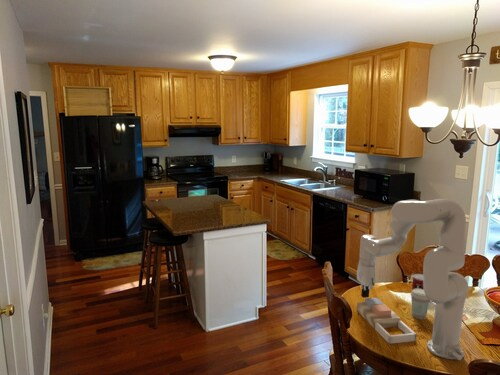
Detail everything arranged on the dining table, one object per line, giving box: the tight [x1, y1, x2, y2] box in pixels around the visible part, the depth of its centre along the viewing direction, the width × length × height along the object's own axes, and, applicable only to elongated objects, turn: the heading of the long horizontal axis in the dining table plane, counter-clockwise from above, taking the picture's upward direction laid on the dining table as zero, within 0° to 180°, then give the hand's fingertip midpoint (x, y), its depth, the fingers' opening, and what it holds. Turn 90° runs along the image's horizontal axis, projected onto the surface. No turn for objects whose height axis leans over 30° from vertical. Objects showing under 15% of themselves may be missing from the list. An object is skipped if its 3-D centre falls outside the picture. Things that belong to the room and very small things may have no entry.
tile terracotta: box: [372, 303, 392, 317], centre depth 169 cm, size 6×6×2 cm
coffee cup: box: [410, 289, 431, 320], centre depth 174 cm, size 8×8×12 cm
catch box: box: [374, 319, 417, 344], centre depth 159 cm, size 11×12×3 cm
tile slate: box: [364, 297, 384, 310], centre depth 176 cm, size 6×6×2 cm
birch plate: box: [356, 301, 401, 330], centre depth 173 cm, size 16×12×4 cm
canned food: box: [411, 273, 424, 291], centre depth 194 cm, size 8×8×11 cm
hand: (365, 296), depth 184 cm, fingers closed
